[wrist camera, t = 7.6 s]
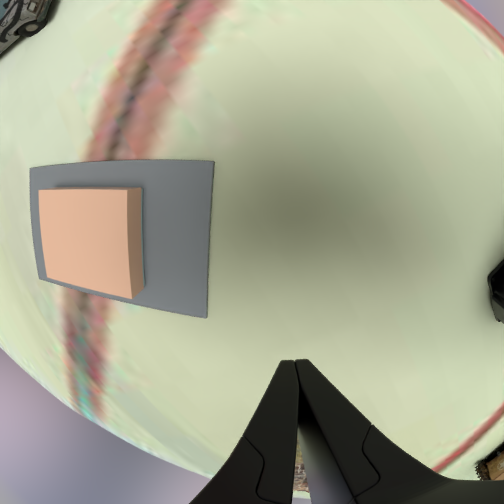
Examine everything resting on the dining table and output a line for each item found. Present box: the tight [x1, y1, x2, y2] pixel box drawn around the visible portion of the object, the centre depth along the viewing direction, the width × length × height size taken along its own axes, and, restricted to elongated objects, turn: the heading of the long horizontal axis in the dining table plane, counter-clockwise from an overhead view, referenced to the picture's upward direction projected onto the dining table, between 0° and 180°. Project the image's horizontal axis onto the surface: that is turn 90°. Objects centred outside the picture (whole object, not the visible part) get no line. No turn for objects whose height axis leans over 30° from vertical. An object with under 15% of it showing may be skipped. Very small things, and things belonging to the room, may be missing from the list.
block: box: [39, 187, 145, 299], centre depth 19 cm, size 2×8×10 cm
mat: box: [30, 160, 214, 318], centre depth 20 cm, size 20×12×1 cm, turn 85°
